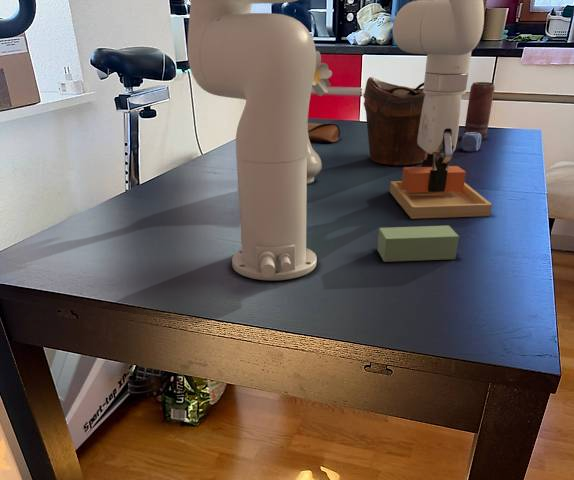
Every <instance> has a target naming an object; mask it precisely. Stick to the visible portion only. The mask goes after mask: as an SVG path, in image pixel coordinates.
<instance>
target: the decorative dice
mask: <svg viewBox="0 0 574 480" xmlns="http://www.w3.org/2000/svg"><path fill="white" fill-rule="evenodd" d="M481 144H482V140H481V134H480V133H476V132H466V133H465V134H464V133H463V135H462V138H461V142H460V148H461V150H462V151H464V152H469V153H470V152H478V150H479V149H480V147H481Z"/></svg>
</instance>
